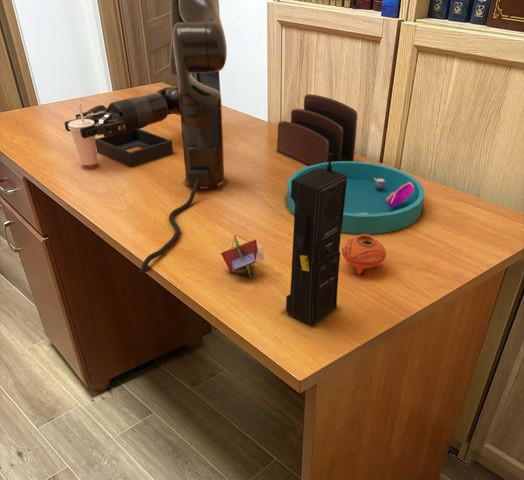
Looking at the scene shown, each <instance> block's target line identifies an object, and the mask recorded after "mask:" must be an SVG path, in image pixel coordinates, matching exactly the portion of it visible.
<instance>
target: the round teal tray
mask: <svg viewBox="0 0 524 480" xmlns="http://www.w3.org/2000/svg"><path fill="white" fill-rule="evenodd" d="M328 164H329V162H326V163H320V164H315V165H311V166H310V165H307V166H306V167H303V168H301V169H298V170H297V171H296V172H294V173H293V174H292V175H291V176H290V178H289V179H288V181H287V190H286V203H287V207H288V209H289V210H290V211H291V212H292V214H293V215H294V214H295V203H294V201H293V200H292V199H291V182H292V180H293V179H295V178H297V177H299V176H302V175H304V174H306V173H308V172H310V171H313V170H315V169H317V168H325V169H327V165H328ZM331 166H332V170H333V171H336V172H339V173H342V174H345V175H346V176H347V178H346V180H347V186H346V195H345V204H344V213H343V222H342V229H341V233H343V234H351V235H360V234H369V235H375V234H383V233H391V232H394V231H397V230H401V229H403V228H407V227H408V226H410V225H412V224H414V223H415V222H416V221H417V219H418V218H419V217H420V216H421V214H422V210H423V205H424V201H425V189H424V187H423V185H422V183H421V182H420V181H419V180H418V179H416V178H414V177H413V176H412V175H410V174H408V173H406V172H404V171H402V170H400V169H397V168H393V167H391V166H387V165H382V164H378V163H374V162H373V163H372V162H366V161H355V160H354V161H336V162H331Z"/></svg>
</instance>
